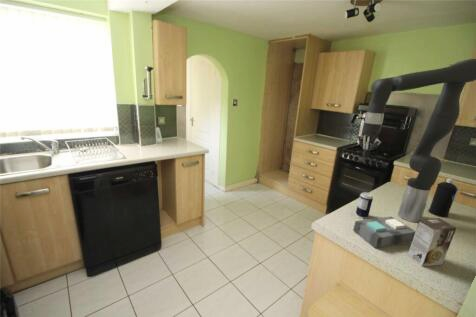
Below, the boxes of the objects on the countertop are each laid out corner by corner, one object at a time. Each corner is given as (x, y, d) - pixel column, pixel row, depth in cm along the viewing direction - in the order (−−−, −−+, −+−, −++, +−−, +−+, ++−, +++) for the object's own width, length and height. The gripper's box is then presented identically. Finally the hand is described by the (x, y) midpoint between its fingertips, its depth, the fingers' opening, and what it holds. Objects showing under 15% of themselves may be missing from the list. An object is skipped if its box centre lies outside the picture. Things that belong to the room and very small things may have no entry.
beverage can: (369, 219, 111) (375, 197, 108) (357, 217, 112) (362, 196, 109) (365, 213, 116) (371, 192, 113) (354, 212, 117) (359, 191, 114)
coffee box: (426, 253, 89) (439, 217, 85) (442, 265, 83) (457, 227, 79) (406, 254, 88) (418, 218, 83) (422, 267, 82) (436, 229, 77)
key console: (388, 225, 107) (391, 216, 105) (413, 241, 96) (416, 231, 94) (353, 230, 101) (355, 221, 100) (375, 248, 90) (378, 237, 89)
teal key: (373, 230, 100) (376, 221, 98) (383, 237, 95) (386, 227, 94) (364, 231, 98) (366, 222, 97) (374, 238, 94) (376, 229, 92)
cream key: (392, 227, 102) (394, 218, 101) (402, 234, 98) (405, 225, 97) (383, 228, 101) (385, 219, 100) (393, 235, 97) (396, 226, 95)
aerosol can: (431, 215, 119) (443, 180, 113) (425, 208, 126) (437, 175, 120) (450, 219, 116) (464, 183, 110) (444, 211, 123) (456, 177, 117)
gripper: (391, 124, 103) (382, 160, 109) (368, 120, 115) (361, 152, 121) (378, 124, 101) (369, 160, 106) (356, 120, 113) (349, 153, 119)
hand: (365, 156), depth 114 cm, fingers closed
